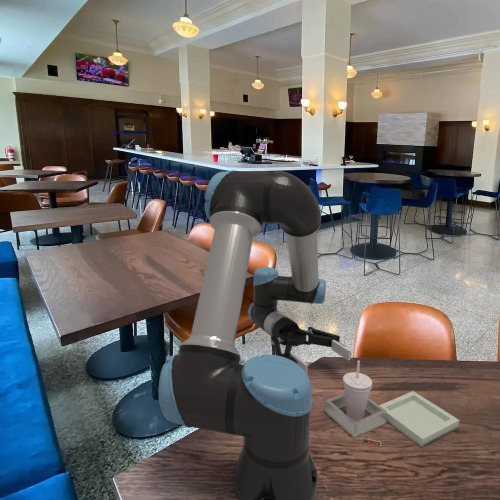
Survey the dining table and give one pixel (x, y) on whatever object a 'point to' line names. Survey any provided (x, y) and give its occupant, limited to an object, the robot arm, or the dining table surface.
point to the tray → (419, 418)
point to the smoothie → (356, 393)
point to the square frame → (347, 423)
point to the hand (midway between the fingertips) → (329, 362)
